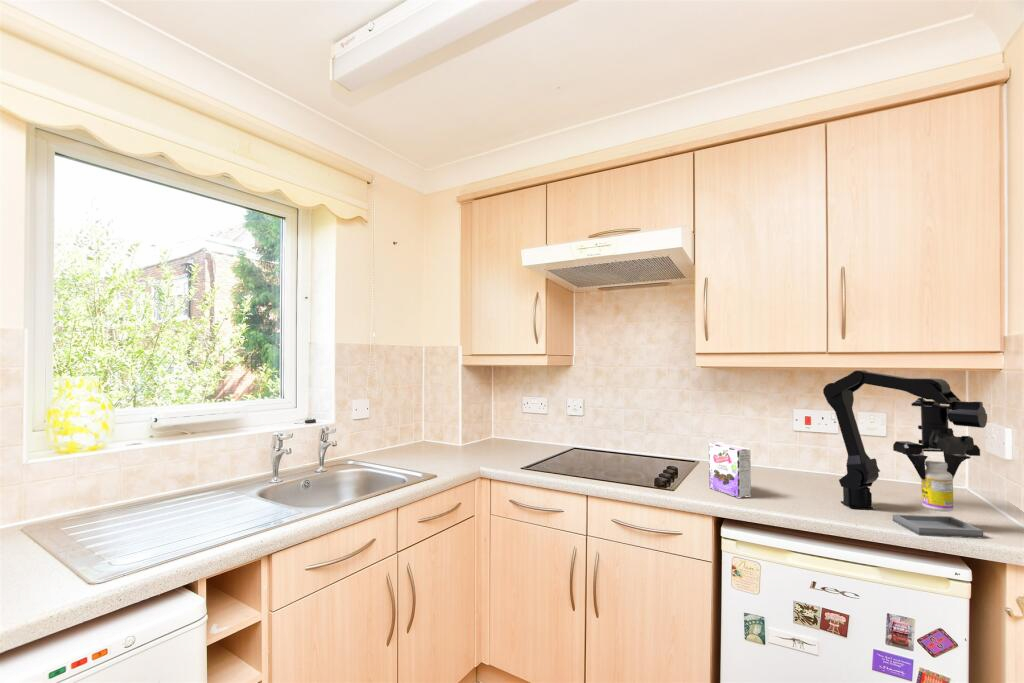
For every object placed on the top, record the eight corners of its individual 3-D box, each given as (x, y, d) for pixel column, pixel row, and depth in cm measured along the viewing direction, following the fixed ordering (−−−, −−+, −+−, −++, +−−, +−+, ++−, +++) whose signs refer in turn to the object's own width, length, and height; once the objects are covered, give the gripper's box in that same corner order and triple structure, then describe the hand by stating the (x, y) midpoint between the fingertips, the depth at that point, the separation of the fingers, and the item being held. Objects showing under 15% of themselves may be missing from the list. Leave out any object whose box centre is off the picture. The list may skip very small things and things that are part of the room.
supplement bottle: (921, 503, 138) (919, 458, 138) (952, 507, 134) (950, 461, 134) (922, 509, 132) (921, 462, 133) (955, 513, 128) (953, 465, 129)
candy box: (708, 488, 172) (707, 442, 173) (721, 486, 175) (720, 441, 175) (738, 498, 160) (737, 449, 160) (752, 497, 162) (751, 448, 162)
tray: (919, 535, 126) (919, 527, 126) (892, 521, 137) (892, 514, 137) (983, 538, 124) (983, 530, 124) (951, 523, 135) (951, 516, 135)
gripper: (918, 427, 127) (920, 486, 126) (997, 428, 125) (999, 488, 124) (891, 421, 138) (892, 475, 137) (962, 422, 136) (964, 477, 135)
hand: (936, 479), depth 133 cm, fingers closed on supplement bottle, 7 cm apart
